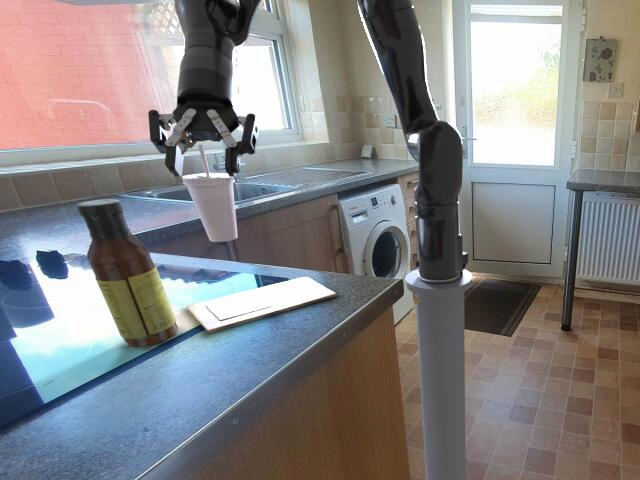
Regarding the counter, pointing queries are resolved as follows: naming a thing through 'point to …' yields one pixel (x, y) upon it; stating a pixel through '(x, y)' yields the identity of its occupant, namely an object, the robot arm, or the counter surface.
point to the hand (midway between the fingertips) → (203, 172)
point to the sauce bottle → (127, 276)
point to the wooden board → (258, 303)
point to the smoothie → (214, 202)
